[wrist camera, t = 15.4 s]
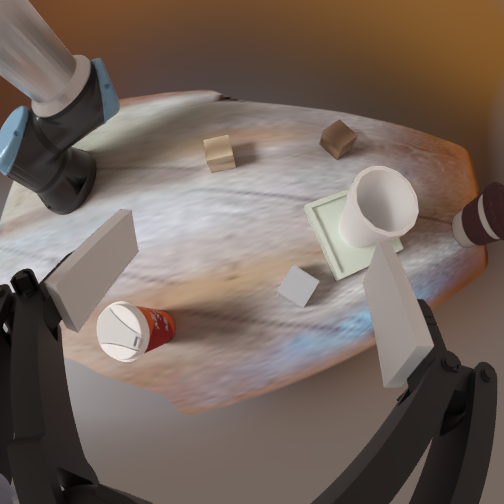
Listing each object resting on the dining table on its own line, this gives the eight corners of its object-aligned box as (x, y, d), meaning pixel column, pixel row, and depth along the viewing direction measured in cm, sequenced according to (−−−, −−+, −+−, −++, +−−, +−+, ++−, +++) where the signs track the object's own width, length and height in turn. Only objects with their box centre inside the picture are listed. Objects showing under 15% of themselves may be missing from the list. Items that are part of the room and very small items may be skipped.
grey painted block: (275, 292, 43) (276, 291, 38) (290, 268, 43) (293, 264, 39) (299, 308, 42) (303, 308, 38) (314, 284, 43) (319, 281, 38)
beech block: (208, 153, 49) (203, 140, 44) (231, 148, 49) (228, 134, 44) (211, 173, 48) (206, 160, 43) (235, 167, 48) (232, 154, 43)
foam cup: (390, 245, 42) (429, 222, 29) (344, 266, 42) (373, 248, 29) (366, 195, 44) (395, 158, 31) (320, 212, 44) (338, 176, 31)
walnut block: (319, 144, 48) (323, 130, 43) (334, 133, 48) (339, 119, 44) (336, 160, 47) (342, 147, 42) (351, 148, 47) (357, 135, 43)
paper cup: (187, 313, 43) (152, 314, 29) (174, 356, 41) (136, 374, 28) (146, 297, 44) (101, 291, 30) (134, 338, 42) (87, 346, 29)
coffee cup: (474, 209, 43) (517, 183, 28) (481, 254, 41) (529, 237, 26) (442, 205, 44) (486, 173, 29) (449, 254, 42) (500, 234, 27)
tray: (303, 209, 45) (305, 204, 43) (366, 185, 45) (370, 180, 43) (335, 281, 42) (338, 279, 40) (398, 251, 43) (403, 248, 41)
